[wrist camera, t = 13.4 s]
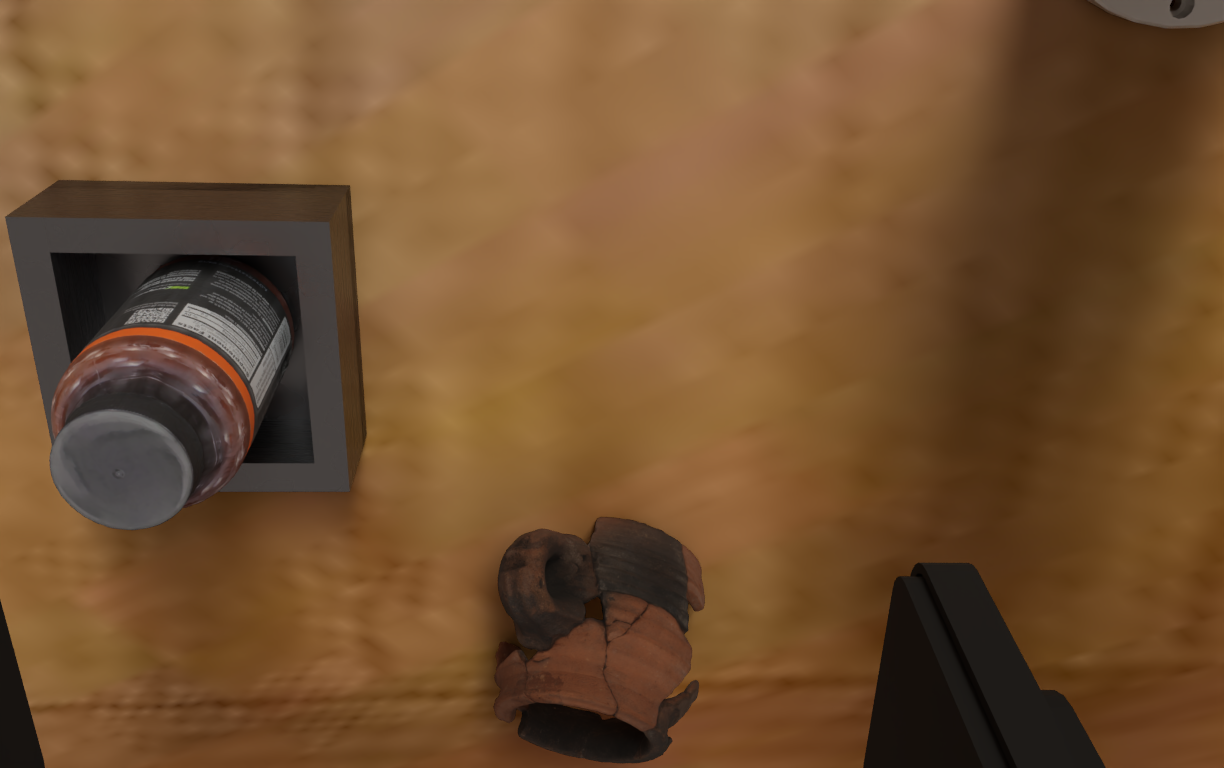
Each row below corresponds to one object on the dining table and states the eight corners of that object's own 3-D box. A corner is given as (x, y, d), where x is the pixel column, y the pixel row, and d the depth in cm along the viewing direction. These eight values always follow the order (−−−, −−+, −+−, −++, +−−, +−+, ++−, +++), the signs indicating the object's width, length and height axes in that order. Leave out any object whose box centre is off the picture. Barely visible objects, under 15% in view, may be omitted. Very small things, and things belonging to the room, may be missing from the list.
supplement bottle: (210, 420, 44) (111, 594, 34) (102, 303, 41) (-40, 451, 31) (331, 343, 43) (267, 498, 32) (227, 217, 40) (122, 342, 30)
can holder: (58, 180, 40) (5, 216, 36) (349, 185, 41) (329, 222, 37) (104, 433, 45) (61, 491, 41) (366, 434, 46) (349, 491, 41)
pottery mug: (753, 593, 51) (730, 772, 46) (586, 613, 56) (549, 776, 51) (609, 447, 44) (565, 642, 39) (432, 486, 49) (373, 662, 44)
